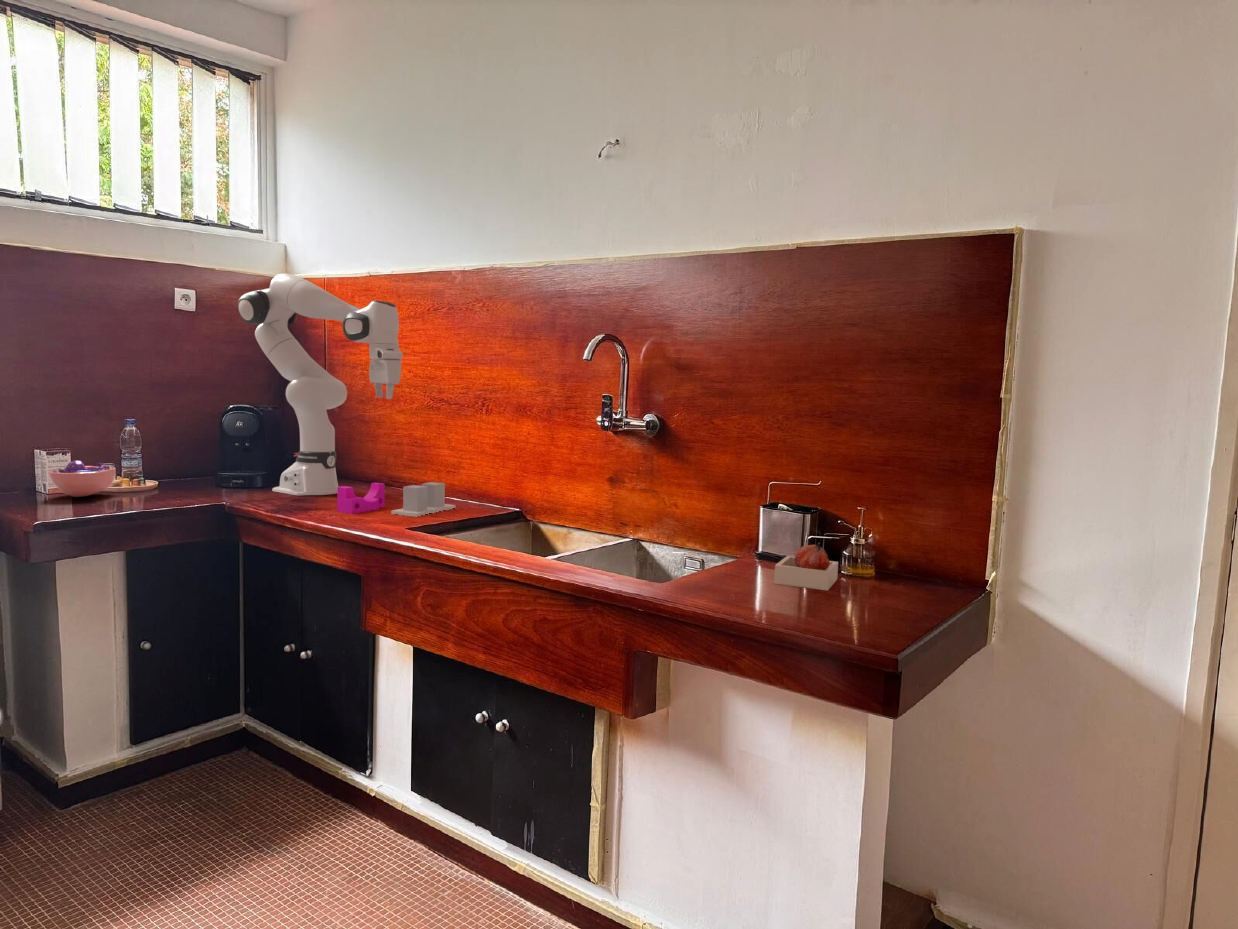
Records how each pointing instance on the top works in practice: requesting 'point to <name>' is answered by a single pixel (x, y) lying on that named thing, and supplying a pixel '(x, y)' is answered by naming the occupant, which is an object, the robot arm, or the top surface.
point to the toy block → (360, 499)
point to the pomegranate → (812, 557)
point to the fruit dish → (805, 575)
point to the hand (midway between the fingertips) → (384, 398)
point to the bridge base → (423, 500)
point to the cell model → (82, 478)
